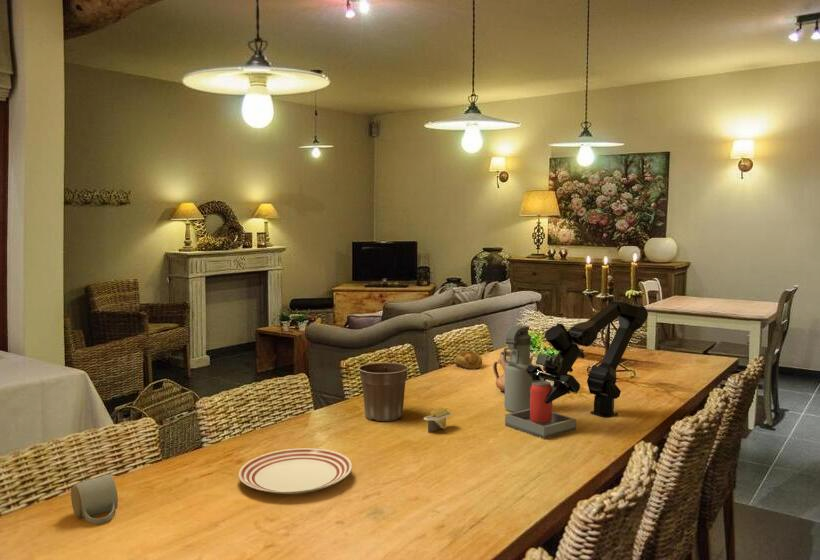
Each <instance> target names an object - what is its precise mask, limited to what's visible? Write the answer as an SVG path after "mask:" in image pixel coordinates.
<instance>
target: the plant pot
mask: <svg viewBox="0 0 820 560" xmlns="http://www.w3.org/2000/svg"><path fill="white" fill-rule="evenodd" d="M409 369H410V368H409V366H408V365H406V364H403V363H397V362H373V363H372V362H371V363H367V364H366V363H365V364H362V365H360V366H358V368H357V370H358V371H359V376H360V382H361V386H362V396H363V405H364V415H365V416H364V417H365V418H366V419H368V420H370V421H372V420H375V421H376V422H391V421H396V420H398V419H399V418H400V419H401V418H403V415H404V402H405V392H406V391H405V390H406V381H407V379H408V377H407V376H408V371H409Z"/></svg>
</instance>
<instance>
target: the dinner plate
mask: <svg viewBox="0 0 820 560" xmlns="http://www.w3.org/2000/svg"><path fill="white" fill-rule="evenodd" d="M351 461H352V460H350V458H348V457H347V456H346V455H345V454H343V453H339V452H336V451H332V450H329V449H323V448H309V447H306V448H305V447H304V448H302V447H301V448H289V449H288V448H287V449H281V450H275V451H271V452H268V453H264V454H262V455H258V456H256V457H255V458H252V459H251V460H248V461H247V462H246V463H245V464H243V465H242V466H241V467H240V469H239V471H238V479H239V480H240V482H241V483H242V484H243V485H245V486H247V487H249V488H251V489H253V490H257V491H261V492H266V493H272V494H281V495H283V494H284V495H297V494H298V495H299V494H304V493H311V492H316V491H320V490H323V489H326V488H329V487H331V486H334V485H335V484H338V483H339V482H341V481H343V480H344V479H345V478H347V477H348V476H349V475H350V473H351V472H352V469H353V464H352V462H351Z"/></svg>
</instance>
